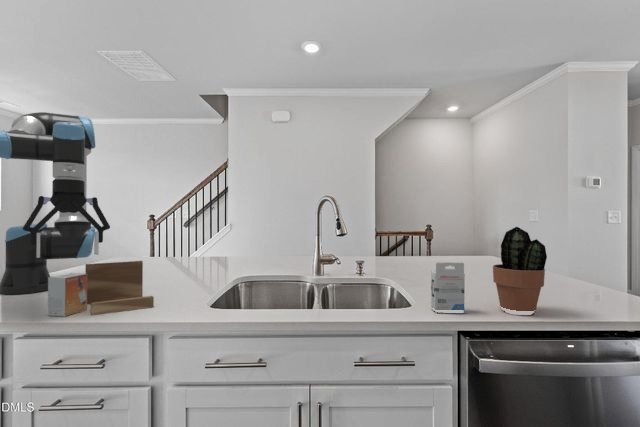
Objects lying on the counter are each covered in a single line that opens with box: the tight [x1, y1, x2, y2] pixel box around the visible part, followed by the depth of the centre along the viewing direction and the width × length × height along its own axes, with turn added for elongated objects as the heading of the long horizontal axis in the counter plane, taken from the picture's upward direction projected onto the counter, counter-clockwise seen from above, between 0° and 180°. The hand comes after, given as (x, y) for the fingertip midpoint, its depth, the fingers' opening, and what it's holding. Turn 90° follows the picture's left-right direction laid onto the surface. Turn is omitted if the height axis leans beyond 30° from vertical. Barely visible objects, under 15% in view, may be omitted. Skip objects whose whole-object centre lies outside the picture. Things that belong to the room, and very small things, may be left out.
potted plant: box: [492, 226, 548, 311], centre depth 114 cm, size 14×14×25 cm
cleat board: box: [84, 260, 155, 316], centre depth 118 cm, size 17×16×12 cm
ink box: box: [430, 261, 466, 311], centre depth 114 cm, size 8×5×15 cm, turn 90°
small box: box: [47, 272, 88, 317], centre depth 109 cm, size 8×6×10 cm
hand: (68, 255), depth 108 cm, fingers open, 13 cm apart
